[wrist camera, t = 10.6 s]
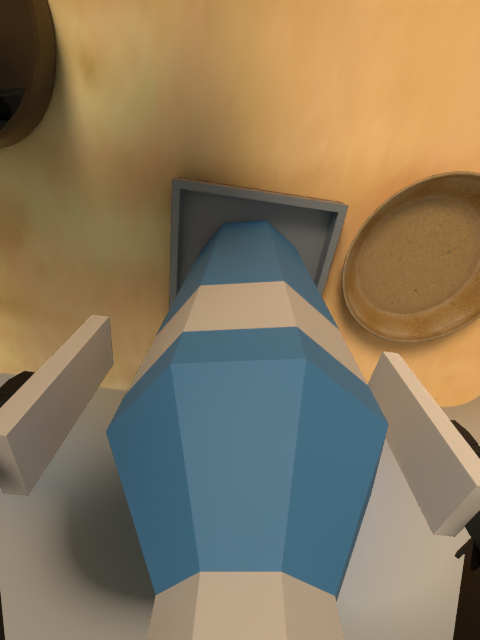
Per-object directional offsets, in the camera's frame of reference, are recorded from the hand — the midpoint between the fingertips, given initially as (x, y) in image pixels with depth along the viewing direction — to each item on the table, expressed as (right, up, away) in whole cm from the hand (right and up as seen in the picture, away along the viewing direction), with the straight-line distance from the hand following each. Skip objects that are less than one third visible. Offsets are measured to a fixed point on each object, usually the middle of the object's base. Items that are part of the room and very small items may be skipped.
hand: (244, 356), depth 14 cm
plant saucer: (+16, +7, +13) cm, 22 cm away
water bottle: (+1, +6, +13) cm, 14 cm away
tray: (+1, +7, +13) cm, 15 cm away
